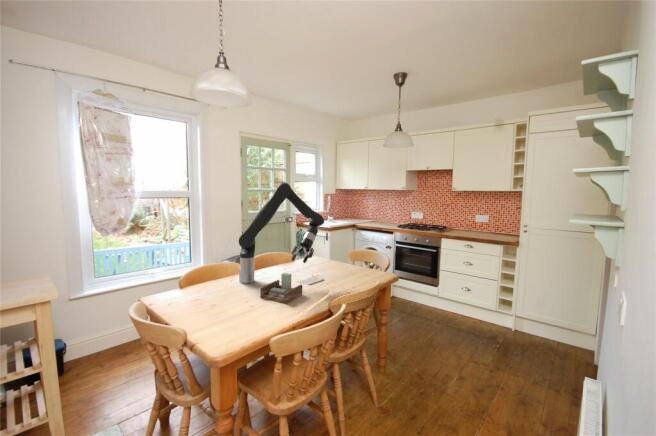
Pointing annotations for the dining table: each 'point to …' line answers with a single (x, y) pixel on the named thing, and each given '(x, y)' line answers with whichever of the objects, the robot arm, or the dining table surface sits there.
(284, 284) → the grey-green block
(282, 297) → the offcut long
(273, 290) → the offcut short
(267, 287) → the rack
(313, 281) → the pale grey flat slab
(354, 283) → the dining table surface
